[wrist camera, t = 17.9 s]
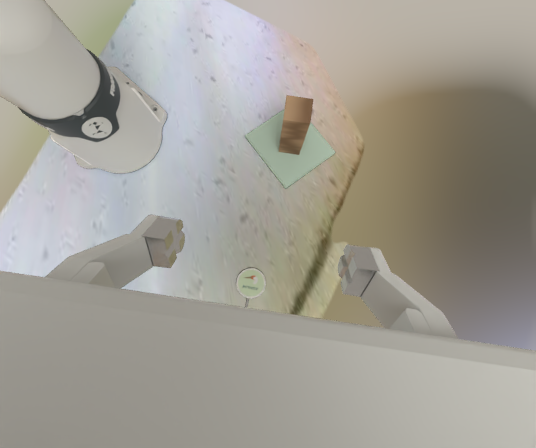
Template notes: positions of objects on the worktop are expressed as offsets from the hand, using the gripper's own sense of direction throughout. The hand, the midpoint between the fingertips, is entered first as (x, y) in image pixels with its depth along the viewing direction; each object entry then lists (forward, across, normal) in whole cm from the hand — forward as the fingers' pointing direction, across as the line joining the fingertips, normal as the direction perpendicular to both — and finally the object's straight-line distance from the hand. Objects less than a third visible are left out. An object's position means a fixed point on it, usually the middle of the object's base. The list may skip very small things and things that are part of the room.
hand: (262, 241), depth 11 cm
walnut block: (+35, -2, +5) cm, 36 cm away
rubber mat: (+36, -2, +6) cm, 36 cm away
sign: (+14, +2, +29) cm, 32 cm away
